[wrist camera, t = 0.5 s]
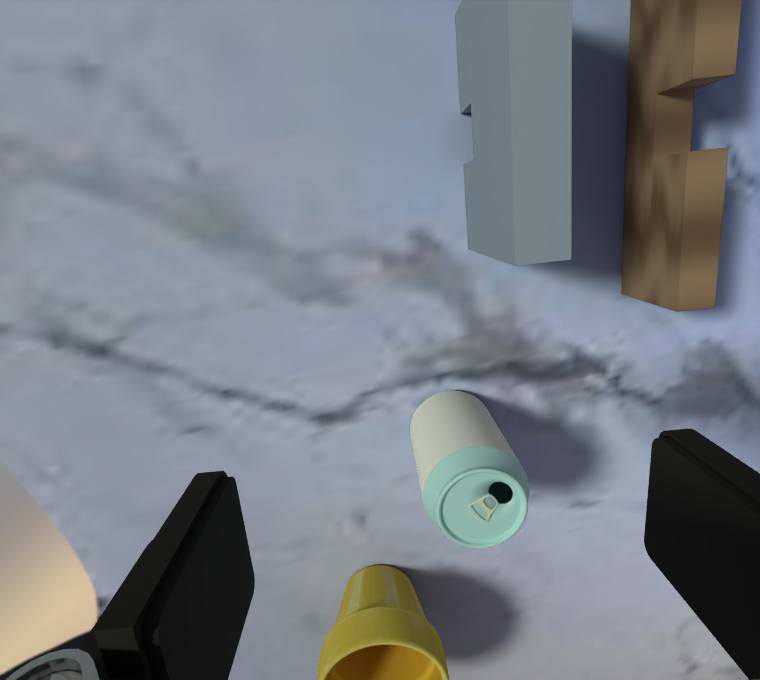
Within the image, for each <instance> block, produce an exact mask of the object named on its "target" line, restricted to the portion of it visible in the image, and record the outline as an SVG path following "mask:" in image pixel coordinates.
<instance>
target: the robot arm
mask: <svg viewBox="0 0 760 680" xmlns="http://www.w3.org/2000/svg"><path fill="white" fill-rule="evenodd" d="M644 543H645V548H646V551H647V553H648V555H649V557H650V558H651V560H652V561H653V562H654V563H655V564H656V566H657V567H658V568H659V569H660V571H661V572H662V573H663V574H664V576H665V577H666V578H667V579H668V580H669V582H670V583H671V584H672V585H673V587H674V588H675V589H676V590H677V591H678V593H679V594H680V595H681V596H682V598H683V599H684V600H685V601H686V603H687V604H688V605H689V606H690V607H691V609H692V610H693V611H694V612H695V614H696V615H697V616H698V617H699V619H700V620H701V621H702V622H703V623H704V625H705V626H706V627H707V628H708V630H709V631H710V632H711V633H712V634H713V636H714V637H715V638H716V639H717V641H718V642H719V643H720V644H721V646H722V647H723V648H724V649H725V650H726V652H727V653H728V654H729V655H730V657H731V658H732V659H733V660H734V661H735V663H736V664H737V665H738V666H739V668H740V669H741V670H742V671H743V673H744V674H745V675H746V676H747V677H748V679H749V680H760V474H759V473H758V472H757V471H755V470H754V469H752V468H751V467H749V466H748V465H746V464H745V463H743V462H742V461H740V460H739V459H737V458H736V457H734V456H733V455H731V454H730V453H728V452H727V451H725V450H724V449H722V448H721V447H719V446H718V445H716V444H715V443H713V442H712V441H710V440H709V439H707V438H706V437H704V436H703V435H701V434H700V433H698V432H697V431H695V430H693V429H680V430H669V431H663V432H661V433H660V435H659V438H656V439H654V441H653V443H652V451H651V463H650V475H649V487H648V499H647V511H646V523H645V535H644ZM254 584H255V581H254V572H253V567H252V562H251V557H250V551H249V546H248V541H247V536H246V531H245V526H244V521H243V516H242V511H241V506H240V500H239V495H238V490H237V485H236V481H235V479H234V477H227V474H226V473H225V472H224V471H216V472H205V473H197V474H196V475H195V477H194V478H193V480H192V481H191V483H190V484H189V486H188V487H187V489H186V490H185V492H184V493H183V495H182V496H181V498H180V500H179V501H178V503H177V504H176V506H175V507H174V509H173V510H172V512H171V513H170V515H169V516H168V518H167V519H166V521H165V523H164V524H163V526H162V527H161V529H160V530H159V532H158V533H157V535H156V536H155V538H154V539H153V540H152V541H151V542H150V543H149V544H148V545H147V547H146V548H145V550H144V551H143V553H142V554H141V556H140V557H139V559H138V560H137V562H136V563H135V565H134V566H133V568H132V569H131V571H130V573H129V574H128V576H127V577H126V579H125V580H124V582H123V583H122V585H121V586H120V588H119V589H118V591H117V592H116V594H115V595H114V597H113V598H112V600H111V601H110V603H109V604H108V606H107V607H106V609H105V610H104V612H103V614H102V615H101V617H100V618H99V620H98V621H97V623H96V624H95V626H94V627H93V629H92V630H91V632H90V633H89V635H88V636H87V638H86V639H85V641H84V642H83V644H82V645H81V647H80V648H79V649H64V650H60V651H56V652H53V653H49V654H47V655H44V656H42V657H40V658H38V659H36V660H34V661H32V662H30V663H28V664H27V665H25V666H24V667H22V668H21V669H19V670H18V671H16V672H14V673H13V674H12V675H11V676H9V677H8V678H7V679H6V680H228V677H229V674H230V670H231V667H232V664H233V660H234V657H235V654H236V650H237V647H238V643H239V640H240V637H241V633H242V630H243V627H244V623H245V620H246V617H247V613H248V610H249V607H250V603H251V600H252V597H253V593H254Z"/></svg>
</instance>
